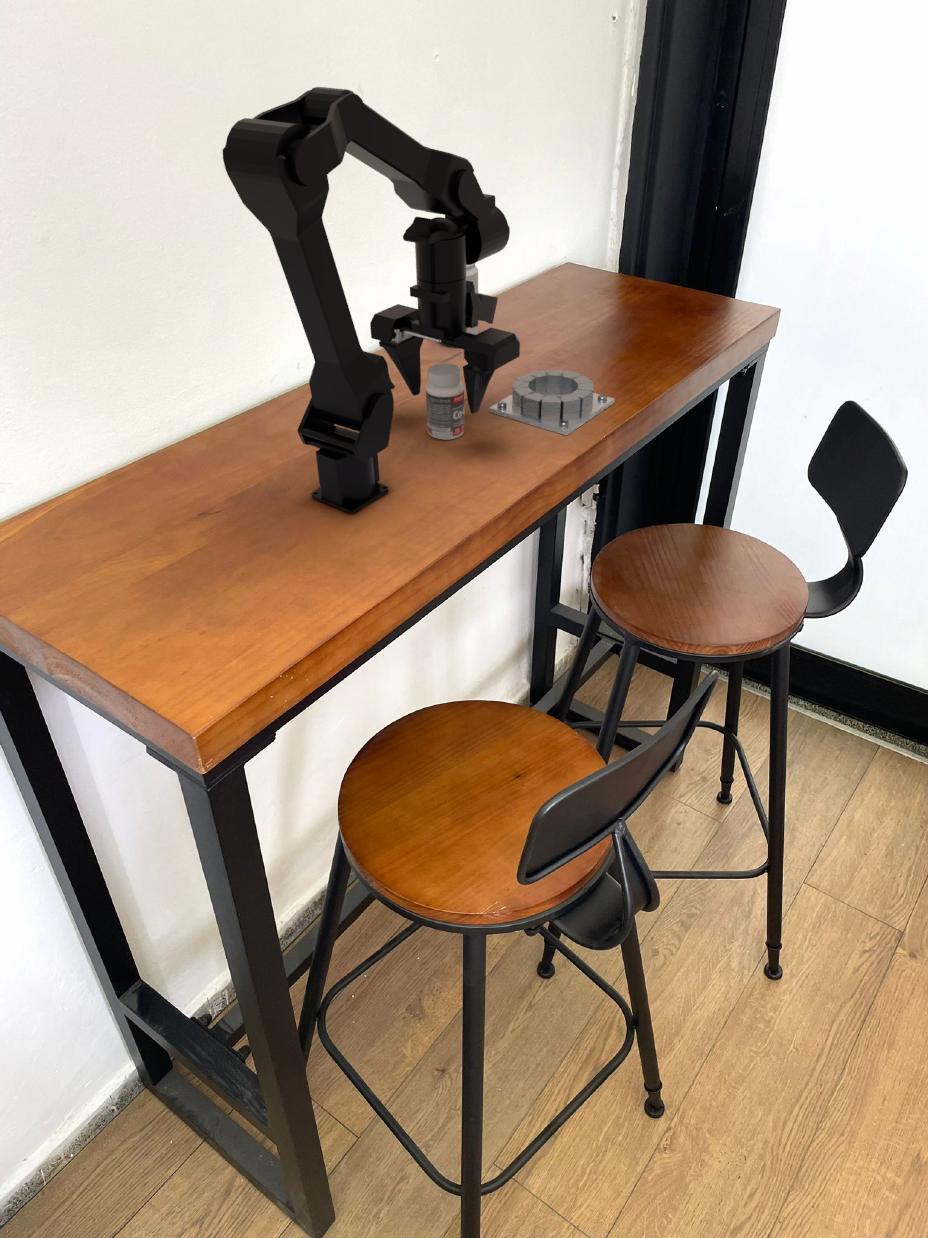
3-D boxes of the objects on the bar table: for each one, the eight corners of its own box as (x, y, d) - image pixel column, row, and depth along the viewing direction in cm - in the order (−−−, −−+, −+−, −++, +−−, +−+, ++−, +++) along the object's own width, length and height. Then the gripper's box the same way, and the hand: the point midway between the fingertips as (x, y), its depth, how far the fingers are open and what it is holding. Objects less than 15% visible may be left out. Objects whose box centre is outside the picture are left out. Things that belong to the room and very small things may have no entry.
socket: (566, 435, 116) (567, 412, 114) (489, 411, 122) (489, 389, 120) (614, 402, 124) (616, 380, 122) (539, 381, 130) (540, 360, 128)
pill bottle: (460, 442, 115) (459, 378, 110) (423, 439, 116) (420, 375, 111) (468, 425, 119) (467, 363, 114) (432, 422, 120) (429, 360, 115)
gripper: (548, 271, 106) (543, 399, 116) (422, 245, 115) (427, 365, 125) (491, 298, 99) (491, 431, 109) (362, 268, 108) (372, 393, 118)
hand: (444, 403), depth 115 cm, fingers open, 9 cm apart
